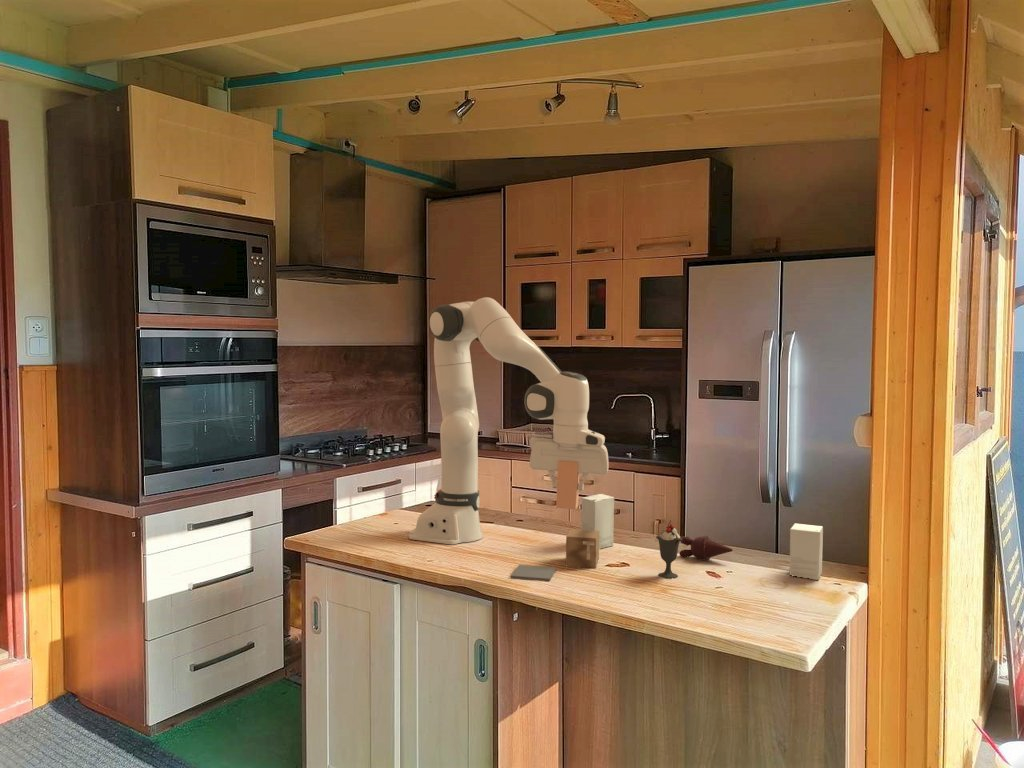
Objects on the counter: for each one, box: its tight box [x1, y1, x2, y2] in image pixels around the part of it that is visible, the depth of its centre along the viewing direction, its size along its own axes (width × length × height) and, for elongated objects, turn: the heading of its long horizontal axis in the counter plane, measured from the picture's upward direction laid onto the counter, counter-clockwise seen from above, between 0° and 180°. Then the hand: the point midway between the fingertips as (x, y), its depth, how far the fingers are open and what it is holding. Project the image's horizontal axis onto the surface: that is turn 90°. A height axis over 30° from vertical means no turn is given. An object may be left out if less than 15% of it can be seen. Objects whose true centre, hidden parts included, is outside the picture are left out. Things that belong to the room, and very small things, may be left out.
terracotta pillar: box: [555, 461, 580, 510], centre depth 203 cm, size 5×5×12 cm
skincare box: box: [580, 493, 615, 550], centre depth 231 cm, size 8×6×15 cm
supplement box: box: [789, 523, 824, 581], centre depth 206 cm, size 7×7×13 cm
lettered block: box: [565, 529, 600, 569], centre depth 214 cm, size 8×8×8 cm
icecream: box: [679, 535, 734, 562], centre depth 219 cm, size 7×7×15 cm
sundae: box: [655, 519, 683, 580], centre depth 203 cm, size 7×7×15 cm
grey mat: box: [510, 564, 557, 582], centre depth 204 cm, size 10×10×1 cm
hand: (567, 488), depth 203 cm, fingers closed on terracotta pillar, 5 cm apart
